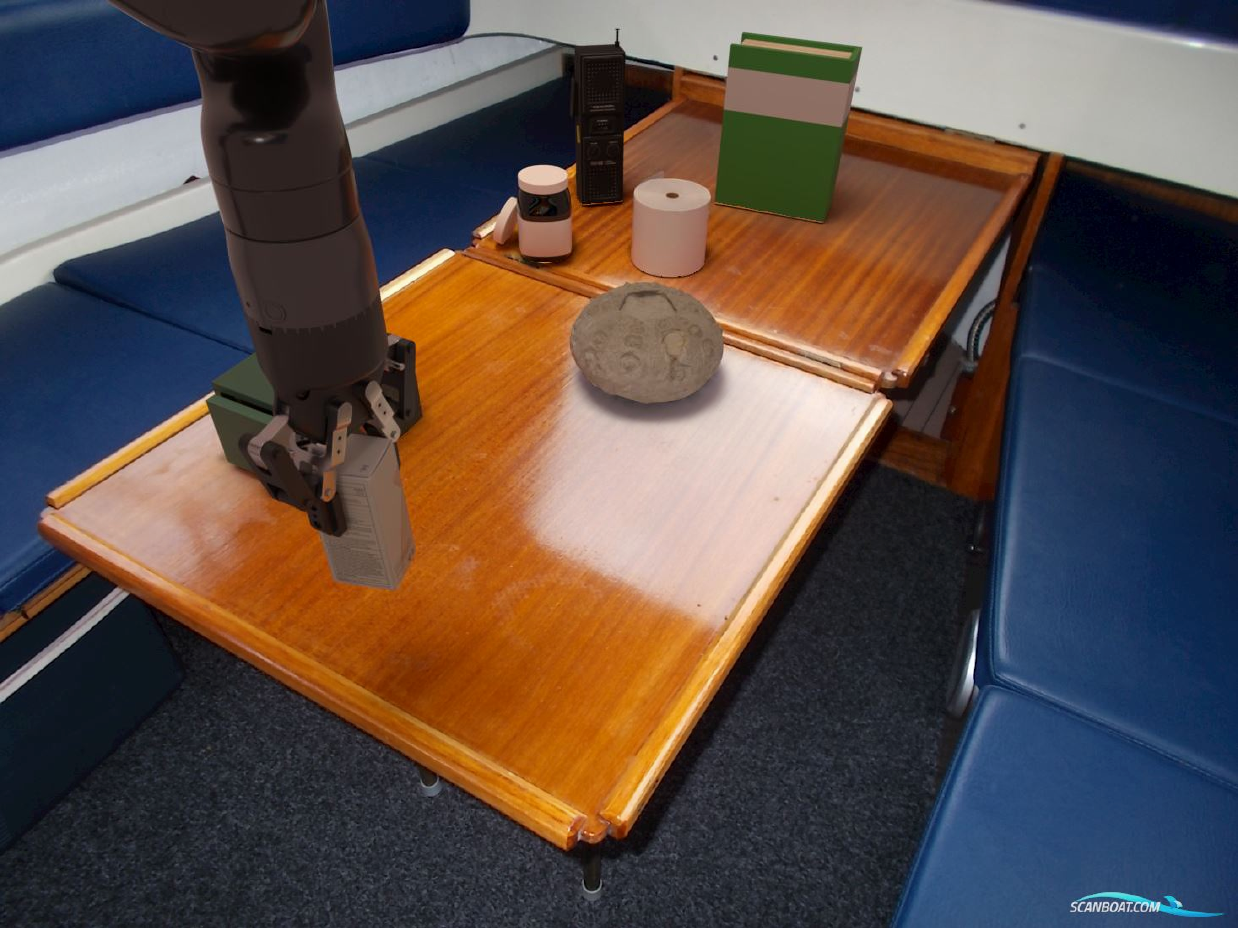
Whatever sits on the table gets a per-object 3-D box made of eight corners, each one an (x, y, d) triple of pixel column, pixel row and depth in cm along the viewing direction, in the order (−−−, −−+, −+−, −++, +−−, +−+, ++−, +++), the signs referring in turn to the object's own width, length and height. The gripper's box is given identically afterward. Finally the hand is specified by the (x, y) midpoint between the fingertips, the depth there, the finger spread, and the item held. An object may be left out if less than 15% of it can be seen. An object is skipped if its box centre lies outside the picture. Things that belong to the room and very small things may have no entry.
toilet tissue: (666, 286, 119) (670, 218, 112) (609, 253, 125) (610, 187, 119) (719, 263, 124) (727, 196, 118) (663, 233, 131) (666, 168, 124)
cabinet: (334, 497, 86) (313, 420, 79) (237, 457, 90) (210, 381, 84) (423, 416, 96) (411, 342, 89) (332, 384, 100) (314, 311, 94)
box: (418, 551, 65) (398, 438, 58) (396, 593, 62) (373, 479, 55) (352, 540, 66) (325, 427, 59) (328, 581, 63) (296, 467, 56)
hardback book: (714, 204, 139) (730, 45, 123) (726, 187, 144) (743, 31, 128) (822, 224, 134) (854, 61, 119) (831, 205, 140) (862, 47, 124)
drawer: (307, 506, 84) (288, 443, 78) (218, 468, 87) (195, 407, 82) (401, 422, 94) (390, 362, 88) (318, 392, 97) (303, 332, 92)
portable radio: (576, 209, 136) (574, 39, 120) (568, 193, 141) (566, 27, 124) (624, 204, 138) (629, 36, 121) (615, 189, 142) (618, 25, 126)
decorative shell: (750, 379, 103) (761, 306, 96) (646, 444, 93) (650, 368, 87) (643, 320, 112) (646, 250, 105) (539, 374, 103) (535, 300, 96)
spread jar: (575, 268, 122) (574, 189, 114) (495, 272, 121) (489, 192, 113) (567, 229, 131) (566, 154, 123) (492, 232, 130) (486, 156, 122)
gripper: (342, 224, 55) (381, 431, 66) (159, 330, 45) (242, 552, 56) (439, 252, 52) (463, 462, 64) (269, 370, 43) (332, 594, 54)
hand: (359, 504), depth 60 cm, fingers closed on box, 5 cm apart
